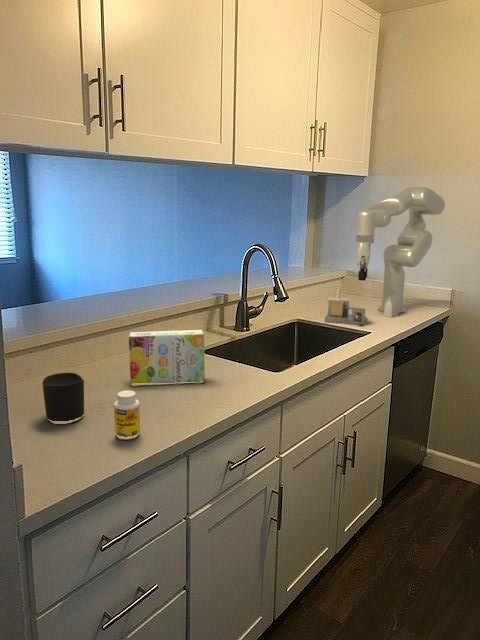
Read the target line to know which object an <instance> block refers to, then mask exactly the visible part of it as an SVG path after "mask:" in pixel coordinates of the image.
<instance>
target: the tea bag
mask: <svg viewBox="0 0 480 640" xmlns="http://www.w3.org/2000/svg"><path fill="white" fill-rule="evenodd" d="M398 312H399V301H398V298H397V294H393V295H390V296H389V297H388V299H387V301H386V303H385V308H384V312H383V317H384V318H390V319H392V318H395V317H398V316H399V313H398Z"/></svg>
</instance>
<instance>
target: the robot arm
mask: <svg viewBox="0 0 480 640" xmlns="http://www.w3.org/2000/svg"><path fill="white" fill-rule="evenodd" d="M445 207H446V204H445V200H444V198H443V197H442V196H441V195H439V194H438V193H437V192H435V191H434V190H433V189H431V188H428V187H422V186H421V187H420V186H419V187H417V186H410V187H407V188H405V189H403V190H402V191H400V192H398V193H397V194H396V195H394V196H392V197H390V198H386V199H383V200H380V201H377V202H375V203H372V204H370V205H368V206H366V207H365V208H364V209H363V210H360V211H358V214H357V224H356V225H357V226H356V238H355V239H356V243H357V255H356V266H357V267H358V266H359V268H358V277H357V280H358V281H364V282H365V281H366V279H367V277H368V266H369V264H370V256H371V246H372V244H374V243H375V228H386V227H388V226H389V225H390V224H391V221H392V217H395V216H399V215H401V214H404V212H406V211H408V213H409V218H408V219H409V220H408V221H407V224H406V225H405V227H404V228H403V230H402V231H401V232H400V234H398V235H399V236H398V237H397V241H396V242H397V244H390V245H388V246H386V248H385V249H384V250H383V262H384V263H383V264H384V265H383V267H384V273H383V285H382V296H381V299H382V300H381V306H378V308H377V309H378V311H380V312H382V313H384V308H385V303H386V301H387V299H388V297H389V296H390V295H393V294H397V298H398V301H399V312H398V314H403V313H405V312H406V308H404V307H403V301H404V290H405V278H406V274H405V270H404V268H403V267H405V268H406V267H408V268H415V267H417V266H419V264H420V263H421V262H422V260H423V259H424V258H425V256H426V255H427V253H428V251H429V250H430V248H431V246H432V243H433V235H432V233H431V232H430V231H429V230H426V228H427V227H426V226H427V225H426V221H425V218H424V215H427V216H428V215H429V216H439V215H440V214H442V213H443V212H444V210H445Z"/></svg>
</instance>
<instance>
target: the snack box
mask: <svg viewBox="0 0 480 640" xmlns="http://www.w3.org/2000/svg"><path fill="white" fill-rule="evenodd" d="M128 353H129V354H128V356H129V378H130V385H131V384H132V383H175V382H177V383H178V382H200V381H204V382H205V333H204V331H203V330H202V329H192V330H191V329H190V330H189V329H187V330H160V331H159V330H158V331H154V330H153V331H134V332H133V331H132V332H131V331H130V332H128Z"/></svg>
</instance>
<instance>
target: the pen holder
mask: <svg viewBox="0 0 480 640" xmlns="http://www.w3.org/2000/svg"><path fill="white" fill-rule="evenodd" d="M42 391H43V400H44V408H45V414H46V419H47V418H48V419H49V420H52V421H69V420H74V419H76V418H79V417H81V416H82V415H83V414H84V415H85V380H84V379H83V377H82V376H80V374H78V373H75V372H59V373H53V374H50V375H48V376H45V378H43V381H42Z"/></svg>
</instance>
